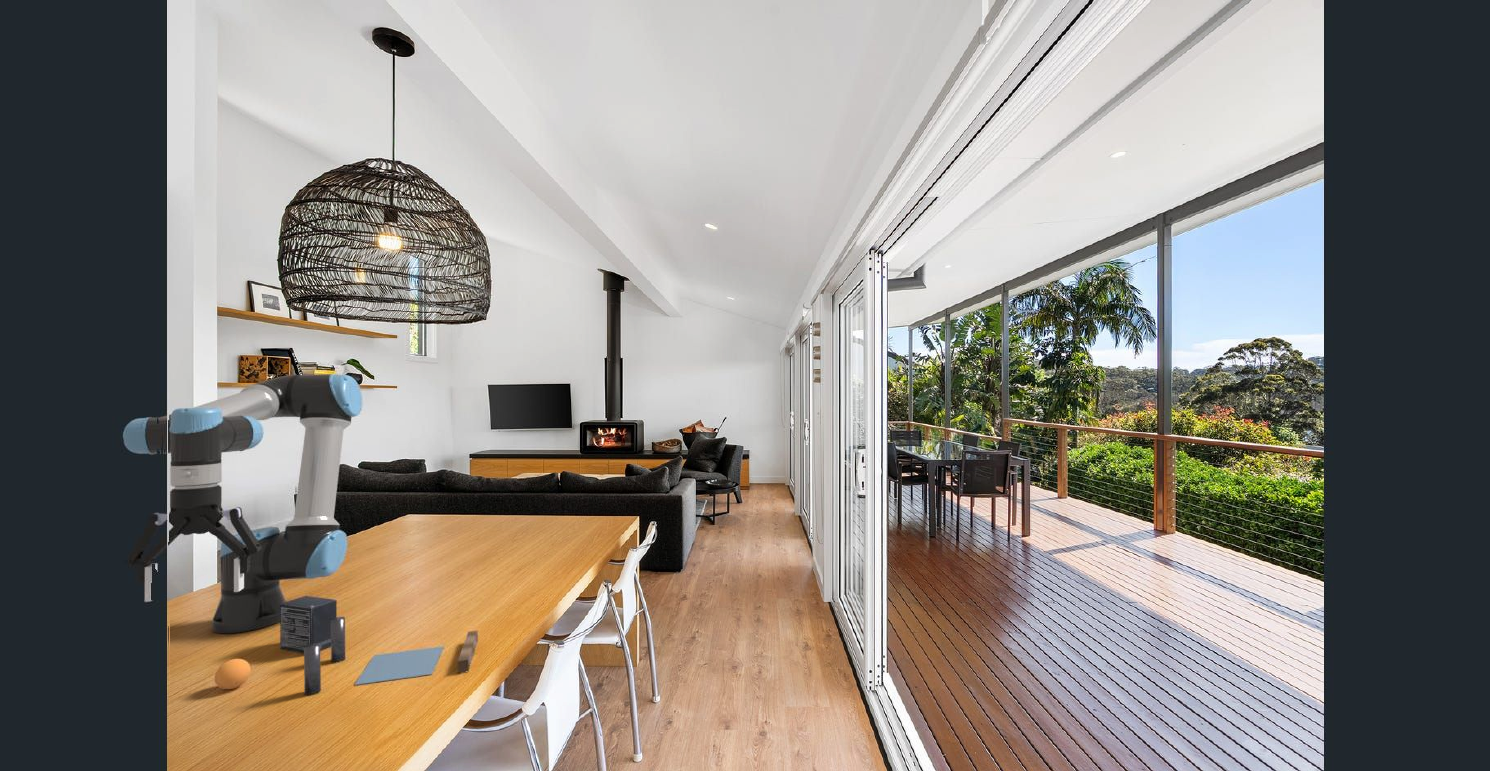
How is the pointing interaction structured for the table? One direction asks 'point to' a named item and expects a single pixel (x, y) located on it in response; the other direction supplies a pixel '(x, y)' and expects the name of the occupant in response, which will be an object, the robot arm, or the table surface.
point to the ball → (232, 674)
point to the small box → (306, 622)
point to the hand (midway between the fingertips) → (195, 594)
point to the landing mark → (400, 665)
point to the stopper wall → (467, 651)
